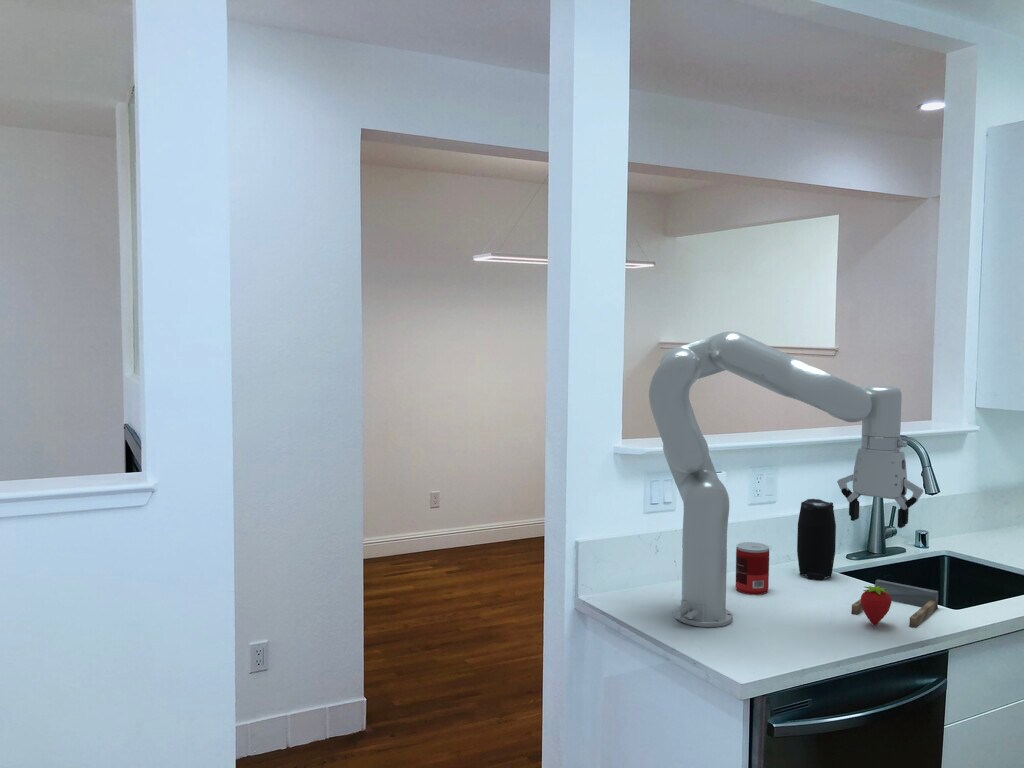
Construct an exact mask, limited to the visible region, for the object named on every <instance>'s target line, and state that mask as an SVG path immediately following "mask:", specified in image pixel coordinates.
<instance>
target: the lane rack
mask: <svg viewBox="0 0 1024 768" xmlns="http://www.w3.org/2000/svg"><path fill="white" fill-rule="evenodd" d="M877 582H878V583H877ZM874 583H875V584H876V583H877V584H876V585H875V584H874V585H875V587H877V586H879V588H885V591H886V592H888V594H889V595H890V597H891V602H894V603H901V604H905V605H911V606H915V607H919V609H918V610H917V611H916V612H914V613H913V614H912V615H911V616H909V624H908V625H909V627H910V628H914V629H915V628H918V626H919V625H920V624H922V623H923V622H924V621H925V620H926V619H927V618H929V617H930V616H931V615H933V613H934V612H935V611H936V610H938V609H939V608H938V606H939V605H938V604H939V590H934V589H931V588H930V589H929V588H923V587H918V586H913V585H909V584H902V583H898V582H894V581H893V582H891V581H886V580H882V579H876V580H875V581H874ZM860 600H861V598H859V599H858V600H857V601H855V602H854V603H853V604H851V614H852V615H855V616H857V615H859V614H860V613H862V612H864V611H863V609H862V606H861V601H860Z"/></svg>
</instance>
